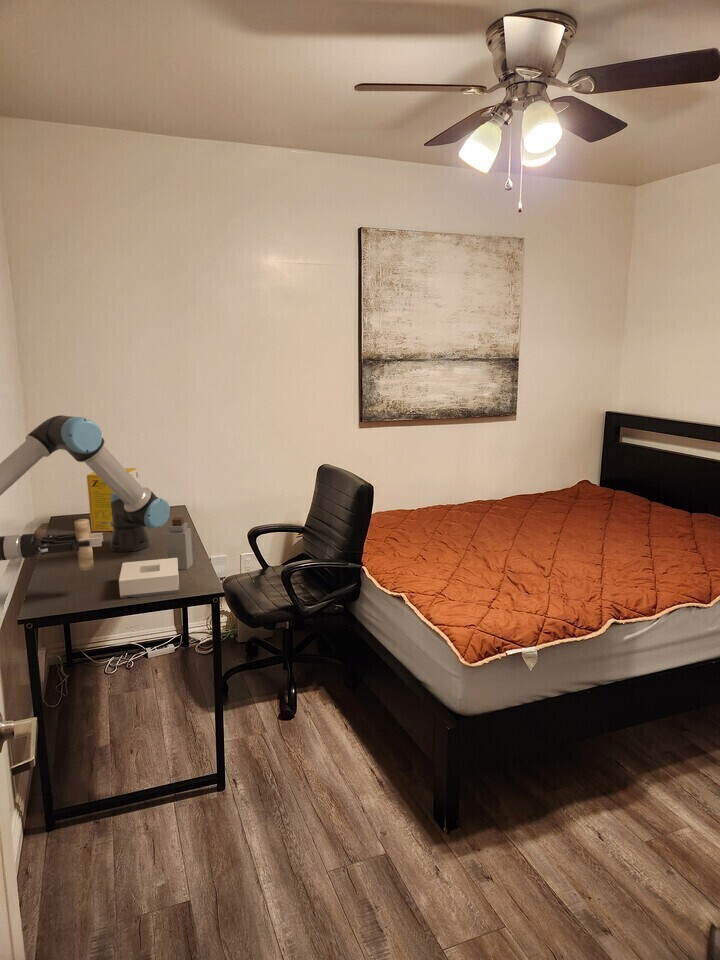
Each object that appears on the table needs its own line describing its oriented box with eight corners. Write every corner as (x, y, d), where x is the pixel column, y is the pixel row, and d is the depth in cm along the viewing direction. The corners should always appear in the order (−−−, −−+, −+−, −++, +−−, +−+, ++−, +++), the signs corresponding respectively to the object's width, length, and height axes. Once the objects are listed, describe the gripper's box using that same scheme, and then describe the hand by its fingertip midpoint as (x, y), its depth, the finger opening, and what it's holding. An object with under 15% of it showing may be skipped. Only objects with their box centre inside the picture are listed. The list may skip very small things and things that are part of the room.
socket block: (124, 579, 219) (122, 562, 218) (178, 573, 224) (177, 557, 222) (120, 598, 202) (118, 580, 201) (179, 592, 207) (178, 575, 206)
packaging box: (107, 521, 291) (103, 468, 286) (142, 522, 290) (138, 468, 285) (91, 532, 275) (86, 475, 270) (128, 532, 274) (124, 475, 269)
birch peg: (80, 566, 207) (75, 519, 204) (94, 565, 208) (89, 518, 205) (78, 571, 203) (73, 523, 200) (93, 569, 204) (88, 521, 201)
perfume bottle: (174, 563, 235) (171, 516, 231) (192, 563, 235) (190, 516, 231) (168, 569, 228) (165, 521, 225) (187, 569, 228) (184, 521, 224)
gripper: (29, 549, 208) (105, 542, 214) (17, 567, 192) (100, 559, 198) (26, 527, 206) (103, 521, 213) (14, 543, 190) (97, 535, 196)
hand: (101, 539), depth 205 cm, fingers closed on birch peg, 4 cm apart
